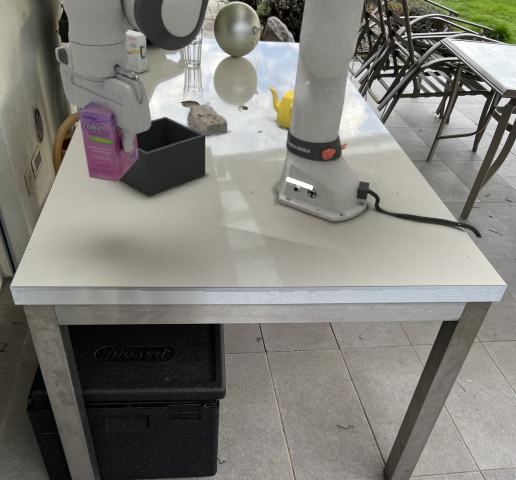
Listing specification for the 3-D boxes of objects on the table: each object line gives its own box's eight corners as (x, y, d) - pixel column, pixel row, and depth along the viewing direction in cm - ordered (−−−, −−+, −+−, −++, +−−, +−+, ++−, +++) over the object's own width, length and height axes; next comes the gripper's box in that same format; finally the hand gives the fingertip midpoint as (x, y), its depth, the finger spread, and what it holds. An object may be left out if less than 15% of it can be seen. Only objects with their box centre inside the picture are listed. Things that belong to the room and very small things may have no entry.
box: (118, 182, 95) (109, 114, 87) (88, 178, 96) (76, 110, 88) (140, 159, 103) (133, 94, 95) (112, 155, 103) (103, 90, 95)
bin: (205, 175, 133) (205, 135, 126) (149, 196, 123) (146, 154, 116) (167, 155, 139) (165, 116, 133) (111, 174, 129) (106, 132, 123)
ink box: (119, 68, 189) (116, 31, 181) (128, 65, 193) (125, 28, 185) (139, 73, 187) (137, 36, 179) (148, 70, 190) (146, 33, 182)
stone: (232, 124, 150) (198, 123, 146) (228, 142, 154) (195, 142, 150) (218, 99, 157) (185, 97, 153) (214, 117, 161) (183, 116, 157)
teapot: (283, 136, 155) (287, 99, 148) (264, 119, 163) (267, 84, 156) (323, 131, 160) (329, 95, 153) (303, 116, 168) (308, 81, 161)
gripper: (156, 70, 83) (162, 156, 93) (81, 42, 93) (93, 122, 102) (123, 78, 80) (133, 166, 89) (48, 47, 89) (64, 130, 99)
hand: (111, 142), depth 96 cm, fingers closed on box, 7 cm apart
